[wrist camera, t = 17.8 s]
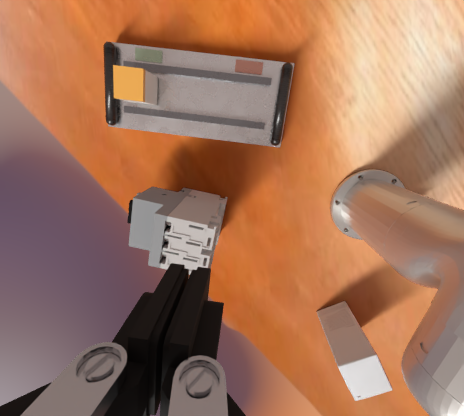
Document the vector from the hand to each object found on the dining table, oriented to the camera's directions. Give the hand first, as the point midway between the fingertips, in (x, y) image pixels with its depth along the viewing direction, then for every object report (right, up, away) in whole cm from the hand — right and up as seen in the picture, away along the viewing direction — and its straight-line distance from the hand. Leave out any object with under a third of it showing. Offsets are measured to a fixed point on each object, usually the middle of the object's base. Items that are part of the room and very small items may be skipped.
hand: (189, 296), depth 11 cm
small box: (+24, -19, +42) cm, 52 cm away
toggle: (-12, +22, +28) cm, 37 cm away
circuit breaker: (-7, +4, +36) cm, 37 cm away
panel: (-4, +22, +30) cm, 37 cm away
